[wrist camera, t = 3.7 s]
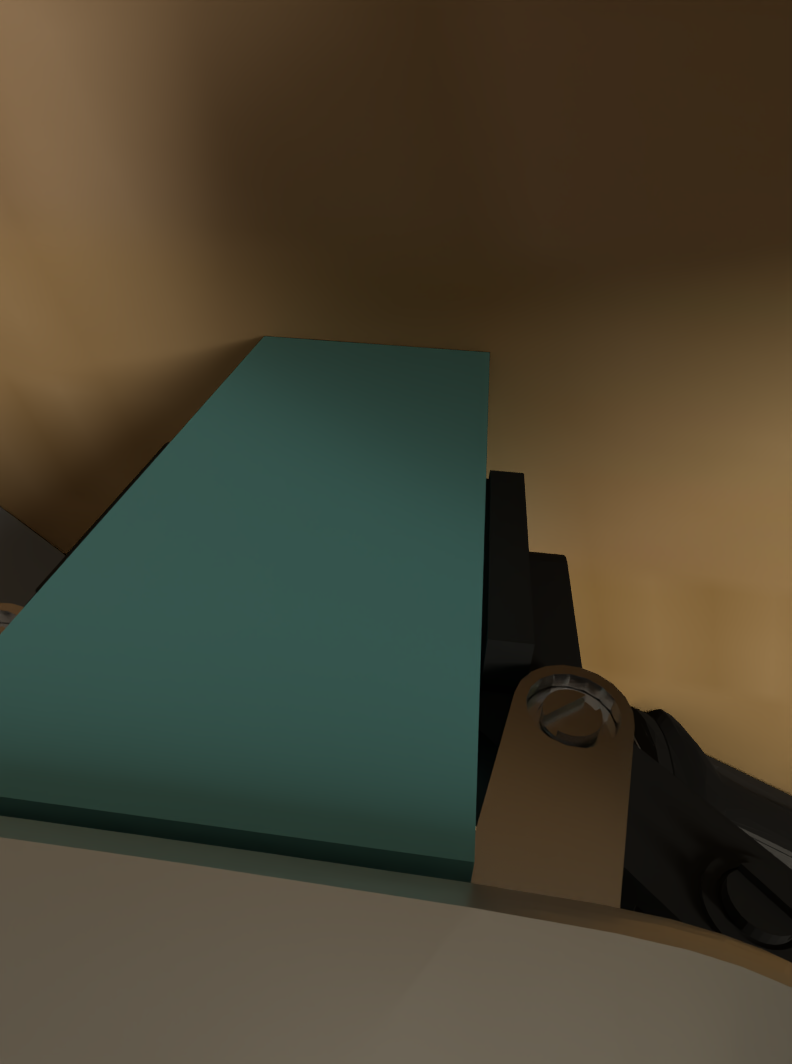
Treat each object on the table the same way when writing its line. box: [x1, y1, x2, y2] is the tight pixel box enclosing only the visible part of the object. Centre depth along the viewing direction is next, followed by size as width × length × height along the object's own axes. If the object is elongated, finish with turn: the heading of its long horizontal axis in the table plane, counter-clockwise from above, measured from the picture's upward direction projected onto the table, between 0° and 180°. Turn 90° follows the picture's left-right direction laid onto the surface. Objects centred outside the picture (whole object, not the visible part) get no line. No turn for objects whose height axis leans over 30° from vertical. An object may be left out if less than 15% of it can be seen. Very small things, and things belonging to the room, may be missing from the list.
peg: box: [0, 336, 490, 883], centre depth 10 cm, size 4×4×10 cm
